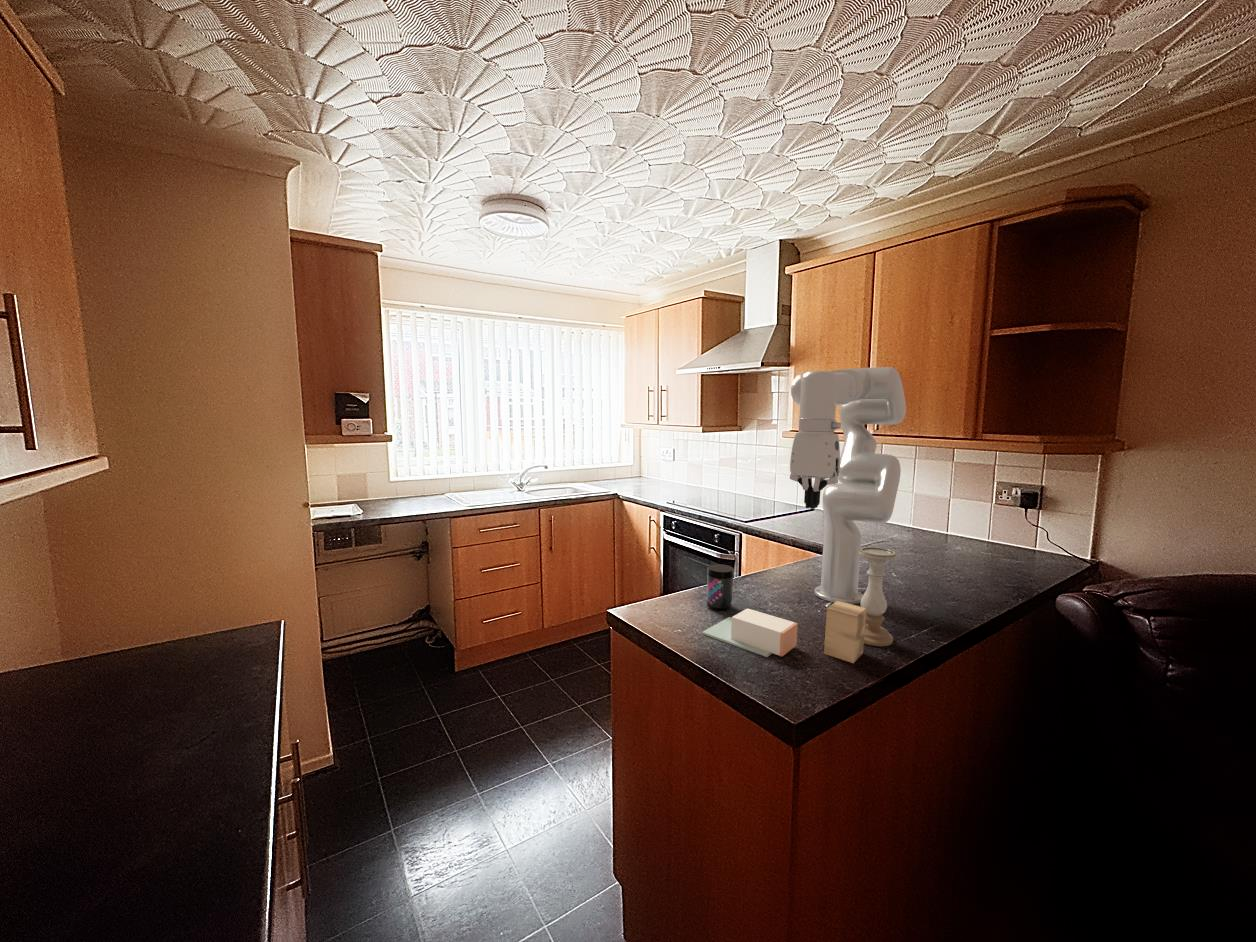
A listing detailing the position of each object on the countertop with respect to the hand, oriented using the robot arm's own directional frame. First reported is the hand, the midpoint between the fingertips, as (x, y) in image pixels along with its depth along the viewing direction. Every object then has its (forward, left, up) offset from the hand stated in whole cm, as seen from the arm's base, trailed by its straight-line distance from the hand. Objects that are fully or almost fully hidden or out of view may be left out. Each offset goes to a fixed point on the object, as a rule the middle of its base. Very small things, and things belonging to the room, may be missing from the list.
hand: (811, 507), depth 115 cm
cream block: (+14, +3, -26) cm, 30 cm away
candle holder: (-6, +13, -29) cm, 33 cm away
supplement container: (+2, -22, -29) cm, 37 cm away
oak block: (+6, +11, -29) cm, 32 cm away
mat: (+13, -8, -29) cm, 33 cm away
